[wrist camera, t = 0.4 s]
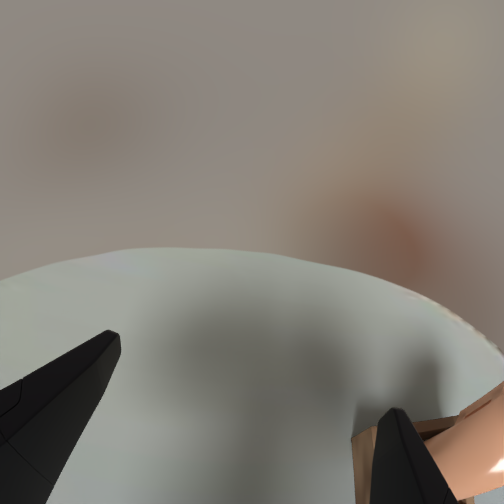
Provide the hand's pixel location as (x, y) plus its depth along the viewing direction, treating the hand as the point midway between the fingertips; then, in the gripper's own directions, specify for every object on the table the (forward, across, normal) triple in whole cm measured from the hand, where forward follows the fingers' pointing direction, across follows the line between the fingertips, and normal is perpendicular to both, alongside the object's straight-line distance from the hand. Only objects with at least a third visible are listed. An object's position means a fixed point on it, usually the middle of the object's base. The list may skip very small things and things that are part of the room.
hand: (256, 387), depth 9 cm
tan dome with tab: (+5, -17, +16) cm, 24 cm away
